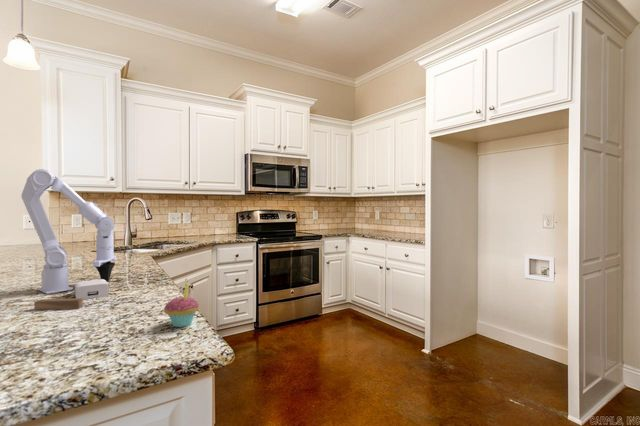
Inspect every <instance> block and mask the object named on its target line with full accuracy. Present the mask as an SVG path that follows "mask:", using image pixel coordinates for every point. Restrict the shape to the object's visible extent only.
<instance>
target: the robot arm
mask: <svg viewBox="0 0 640 426" xmlns="http://www.w3.org/2000/svg"><path fill="white" fill-rule="evenodd" d="M49 188H50V190H53V191H56V192H60V193H61V194H62V195H64V196H65V197H66V198H67V199H68V200H69V201H70V202H72V203H73V204H74V205H75V206H77V208H78V210H77V211H78V213H79V214H81V216H82V217H83V218H84V219H86V220H87V221H88V222H89V223H90V224H92V225H94V227H95V228H96V238H95V239H96V241H95V242H96V243H95V244H96V246H95V247H96V251H95V252H96V258H95V260H94V261H92V262H93V263H92V264H93V268H95V269H96V270H97V271H98V274H99V277H100V279H104V280H106V282H107V283H108V282H109V281H110V279H111V275H112V272H113V269H114V267H115V265H116V264H115V263H116V262H115V261H117V260H118V258H117V255H115V254H114V251H115V250H114V245H115V244H114V243H115V242H114V229H115V223H114V220H113V219H112V218H111V217H109V216H108V213H107V212H104V211H102V210H101V208H99V207H98V204H97V203H96V202H95V203H94V202H93V201H86V200H84V199H83V197H81V195H79V194H78V193H77V192H76V191H75V190H74V189H73V188H72V187H71V186H70V185H68V184H67V182H65V181H63V179H61V178H59V177H57V175H53V173H52V172H51V171H49V170H48V169H43V168H42V169H36V170H34V171H32V173H31V174H30V175H28V177H27V178H26V182H25V184H24V187H23V189H22V192H21V199H22V201H23V204H24V206H25V208H26V211H27V214H29V215H28V216H29V218H30V220H31V222H32V225H33V227H34V228H35V231H36V233H37V236H38V237H39V241H40V243H41V246H42V249H43V252H44V262H45V264H43V269H42V270H41V287H40V288H38V289H37V290H38V291H40V292H41V293H44V294H47V295H48V294H54V293H60V292H64V291H71V290H73V289H74V287H71V286H69V283H70V282H69V281H70V280H69V276H70V275H69V263H67V260H68V259H67V258H68V256H67V254H68V253H67V251H66V250H65V248H63V247H62V246H61V244H60V242H59V240H58V239H57V236H56V234H55V231H54V228H53V227H52V224H51V222H50V219H49V217H48V214H47V212H46V210H45V208H44V206H43V204H42V201H41V197H42V196H43V194H44V193H45V191H46V190H47V189H49Z"/></svg>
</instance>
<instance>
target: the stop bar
mask: <svg viewBox="0 0 640 426" xmlns="http://www.w3.org/2000/svg"><path fill="white" fill-rule="evenodd" d="M33 303H34V311H47V310H70V309H71V310H72V309H80V308H82V307H83V305H84V304H83V303H84V300H83V298H76V297H75V298H52V299H51V298H50V299H49V298H48V299H39V300H35V301H34V302H33Z"/></svg>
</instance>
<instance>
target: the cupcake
mask: <svg viewBox="0 0 640 426" xmlns="http://www.w3.org/2000/svg"><path fill="white" fill-rule="evenodd" d="M184 287H185V288H184V293H183V294H184V295H183V297H176V298H173V299H171V300H170V301H168V302H167V303H166V304H165V306H164V308H163V312H164V313H165V314H166V315H168V316H169V318H170V322H171V324H172V326H173V327H176V328H182V327H188V326H190V325H192V323H193V319H194V317H195V314H196V312H198V310H199V306H200V304H199V303H198V301H197V300H195V298H192V297H190V296H188V289H189V280H187V282H186V283H185V286H184Z"/></svg>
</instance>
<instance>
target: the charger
mask: <svg viewBox="0 0 640 426" xmlns="http://www.w3.org/2000/svg"><path fill="white" fill-rule="evenodd" d="M74 295H75V298H83V301H84V300H89V299H97V298H105V297H108V296H109V295H110V285H109V283H108V282H106V280H104V279H101V278H100V279H99V278H98V279H92V280H82V281H77V282H75V283H74Z"/></svg>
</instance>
